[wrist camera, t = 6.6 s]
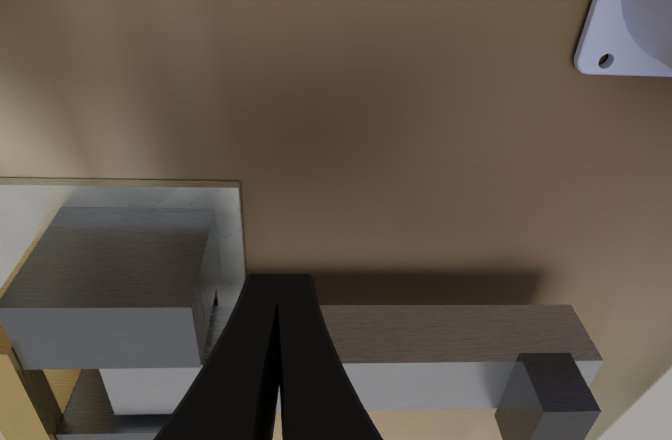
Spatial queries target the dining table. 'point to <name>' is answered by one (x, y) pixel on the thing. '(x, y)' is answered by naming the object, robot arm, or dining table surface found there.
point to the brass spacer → (31, 389)
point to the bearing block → (116, 282)
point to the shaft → (431, 365)
